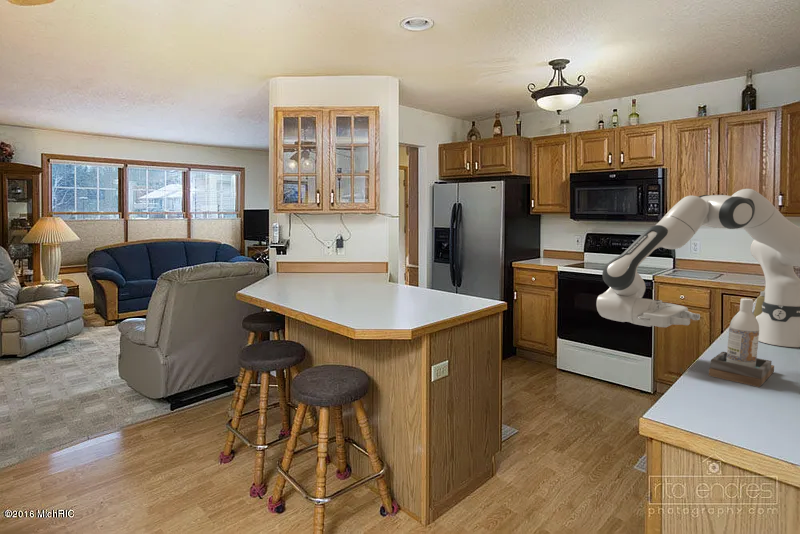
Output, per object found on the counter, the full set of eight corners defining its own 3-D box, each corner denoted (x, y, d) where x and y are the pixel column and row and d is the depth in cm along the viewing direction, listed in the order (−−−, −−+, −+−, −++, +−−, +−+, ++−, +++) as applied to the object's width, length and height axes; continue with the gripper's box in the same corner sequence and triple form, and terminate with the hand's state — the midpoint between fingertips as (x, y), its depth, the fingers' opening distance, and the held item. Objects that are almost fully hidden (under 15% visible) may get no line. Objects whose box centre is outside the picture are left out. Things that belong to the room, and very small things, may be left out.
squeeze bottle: (747, 324, 200) (751, 281, 198) (765, 324, 201) (769, 281, 199) (763, 329, 192) (767, 284, 190) (781, 328, 193) (786, 284, 191)
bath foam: (749, 372, 133) (756, 302, 131) (721, 366, 139) (727, 298, 137) (759, 368, 137) (766, 299, 135) (732, 361, 143) (738, 296, 141)
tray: (725, 362, 150) (727, 348, 149) (773, 372, 141) (775, 357, 141) (708, 375, 138) (709, 360, 137) (759, 387, 129) (761, 371, 128)
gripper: (634, 307, 148) (683, 314, 138) (659, 299, 162) (705, 305, 152) (633, 327, 149) (682, 336, 139) (657, 317, 163) (704, 324, 153)
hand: (694, 319), depth 146 cm, fingers open, 8 cm apart
